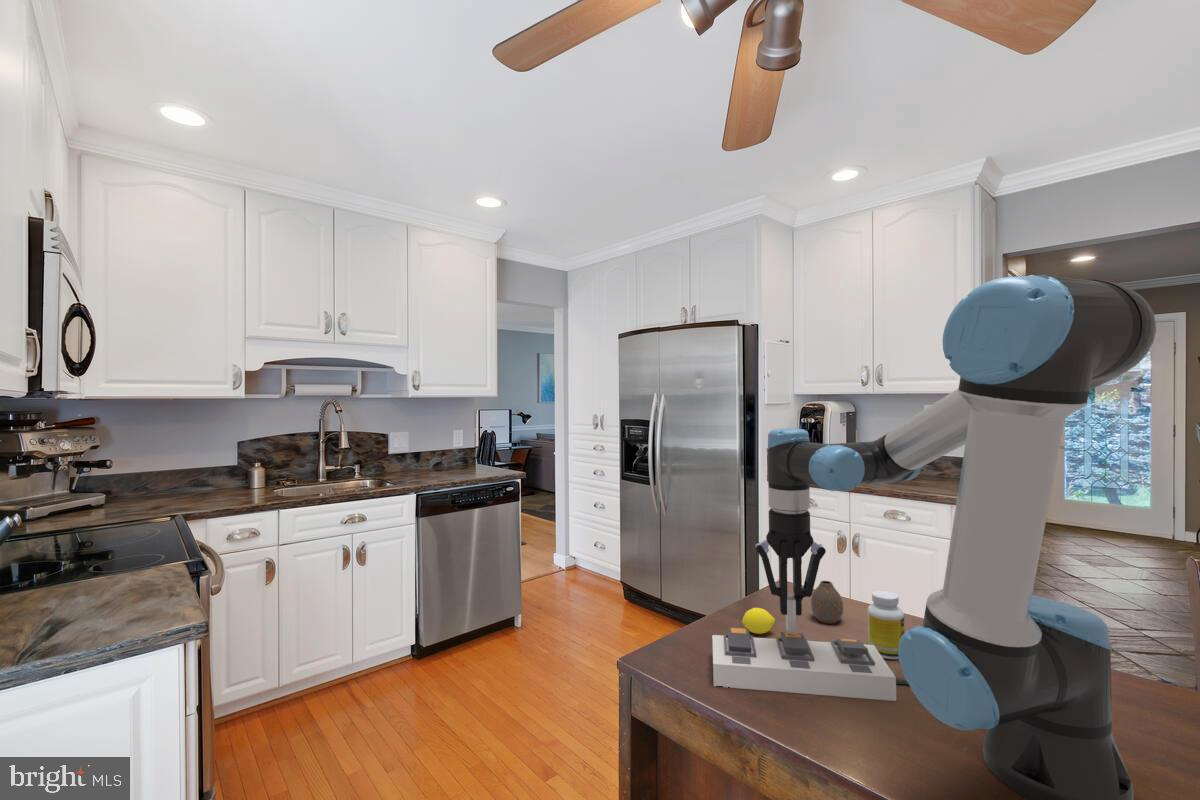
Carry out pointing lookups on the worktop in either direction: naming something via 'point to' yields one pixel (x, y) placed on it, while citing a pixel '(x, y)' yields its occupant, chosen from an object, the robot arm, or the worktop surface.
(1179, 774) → the worktop surface
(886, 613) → the pill bottle
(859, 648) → the rocker
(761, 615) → the lemon
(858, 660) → the rocker switch box
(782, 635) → the dark grey flat block
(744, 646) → the rocker
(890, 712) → the worktop surface
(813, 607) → the vase
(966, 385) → the robot arm
